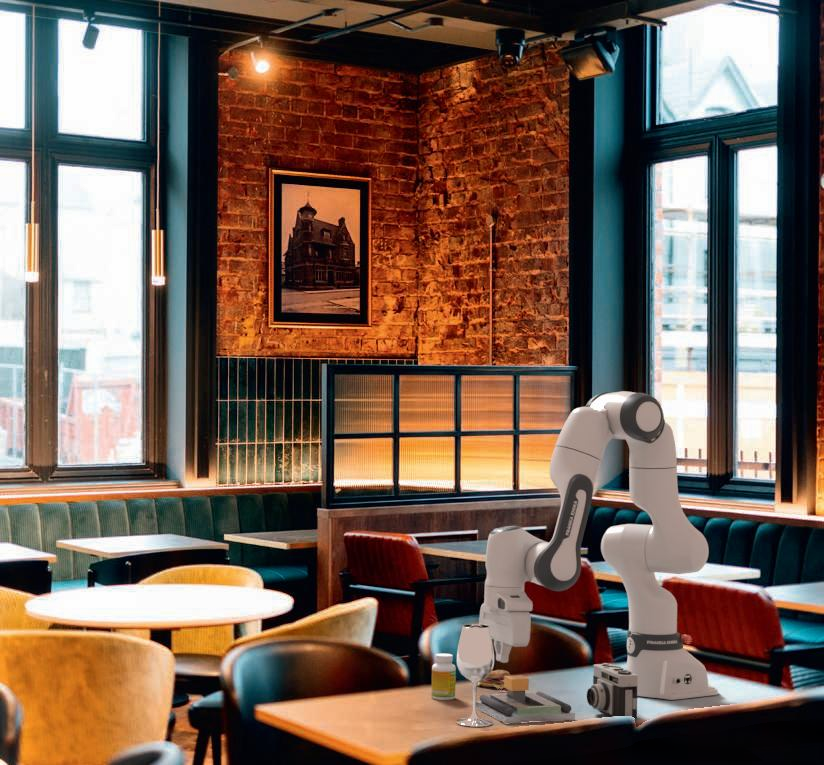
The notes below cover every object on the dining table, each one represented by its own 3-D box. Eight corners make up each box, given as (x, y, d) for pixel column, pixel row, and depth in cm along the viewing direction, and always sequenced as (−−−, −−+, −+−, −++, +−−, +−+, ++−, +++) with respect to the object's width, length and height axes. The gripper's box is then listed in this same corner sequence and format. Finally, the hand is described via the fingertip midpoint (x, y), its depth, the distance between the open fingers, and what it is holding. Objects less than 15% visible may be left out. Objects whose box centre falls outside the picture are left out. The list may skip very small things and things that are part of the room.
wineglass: (453, 718, 277) (455, 623, 277) (490, 718, 277) (492, 623, 278) (457, 727, 269) (459, 628, 270) (495, 727, 270) (497, 629, 270)
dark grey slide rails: (541, 698, 293) (541, 690, 293) (572, 712, 278) (572, 705, 278) (478, 701, 288) (478, 694, 288) (507, 716, 273) (507, 709, 273)
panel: (542, 704, 293) (542, 690, 293) (575, 720, 278) (575, 705, 278) (475, 708, 288) (476, 694, 288) (505, 724, 273) (505, 709, 273)
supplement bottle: (453, 701, 295) (453, 657, 295) (429, 699, 296) (430, 656, 296) (457, 696, 300) (457, 653, 300) (433, 695, 301) (434, 652, 301)
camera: (576, 708, 290) (576, 662, 291) (610, 706, 293) (610, 661, 293) (603, 722, 277) (603, 674, 277) (638, 720, 279) (639, 672, 280)
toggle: (520, 699, 290) (521, 675, 290) (528, 702, 286) (528, 678, 286) (503, 699, 288) (504, 676, 288) (511, 703, 285) (511, 679, 285)
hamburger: (456, 689, 310) (457, 664, 311) (491, 681, 321) (491, 656, 322) (506, 697, 302) (506, 671, 302) (539, 688, 313) (539, 663, 313)
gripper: (473, 593, 303) (471, 654, 302) (509, 604, 284) (507, 669, 283) (498, 593, 305) (496, 654, 304) (536, 604, 286) (534, 668, 285)
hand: (502, 661), depth 293 cm, fingers closed
